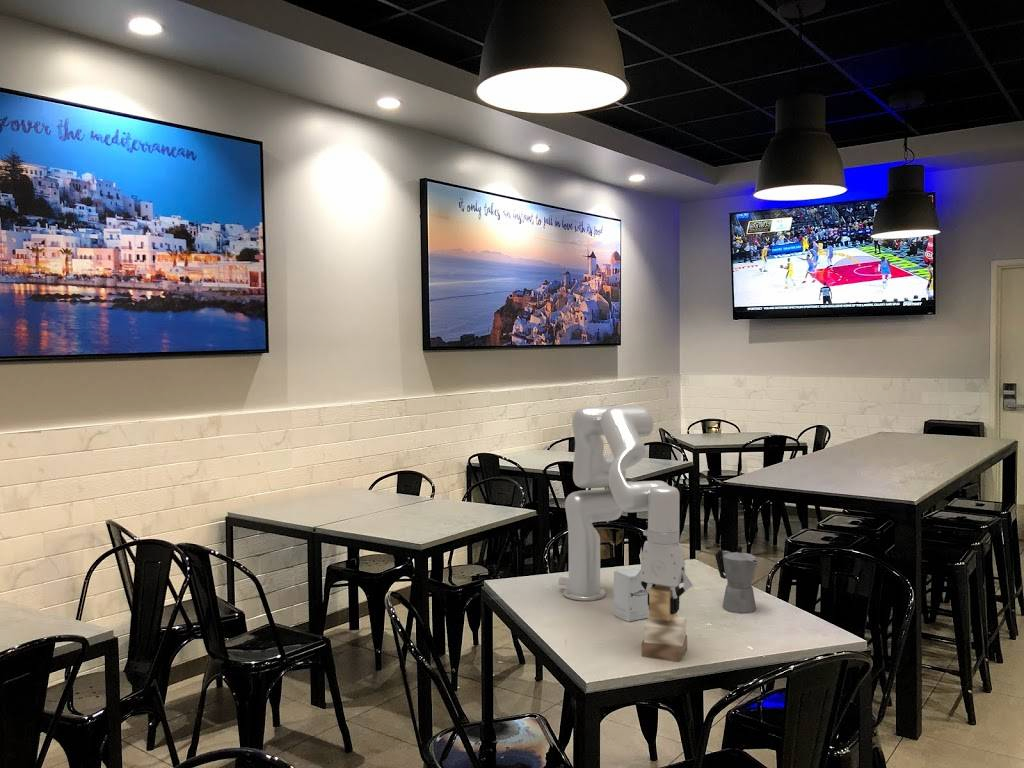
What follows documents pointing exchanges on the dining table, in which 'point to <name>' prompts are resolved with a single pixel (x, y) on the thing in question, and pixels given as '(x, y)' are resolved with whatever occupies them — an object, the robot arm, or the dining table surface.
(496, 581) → the dining table surface
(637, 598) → the supplement box
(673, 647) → the walnut slab
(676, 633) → the maple slab
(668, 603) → the oak block
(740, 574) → the coffeepot
